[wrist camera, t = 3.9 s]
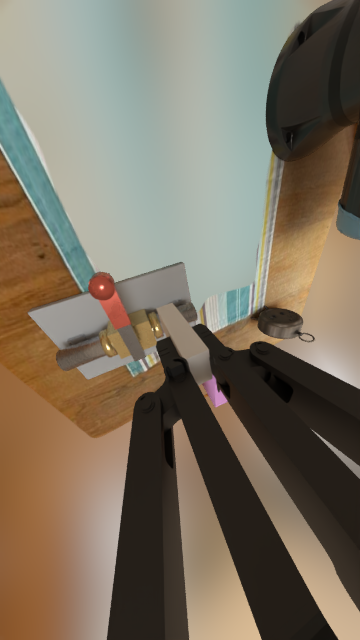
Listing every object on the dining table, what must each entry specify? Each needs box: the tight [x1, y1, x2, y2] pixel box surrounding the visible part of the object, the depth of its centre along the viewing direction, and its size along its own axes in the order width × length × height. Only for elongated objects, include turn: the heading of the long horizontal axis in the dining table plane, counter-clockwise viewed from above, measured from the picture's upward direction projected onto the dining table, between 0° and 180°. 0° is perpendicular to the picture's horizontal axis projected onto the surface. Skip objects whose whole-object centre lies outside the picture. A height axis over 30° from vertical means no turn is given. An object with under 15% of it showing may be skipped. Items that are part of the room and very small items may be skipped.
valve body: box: [56, 299, 197, 371], centre depth 33 cm, size 6×28×6 cm, turn 102°
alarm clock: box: [251, 306, 315, 342], centre depth 45 cm, size 11×5×16 cm, turn 95°
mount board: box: [28, 262, 195, 379], centre depth 36 cm, size 20×30×2 cm, turn 102°
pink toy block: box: [202, 374, 228, 407], centre depth 50 cm, size 20×10×12 cm, turn 8°
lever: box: [88, 272, 146, 361], centre depth 26 cm, size 16×3×5 cm, turn 12°
